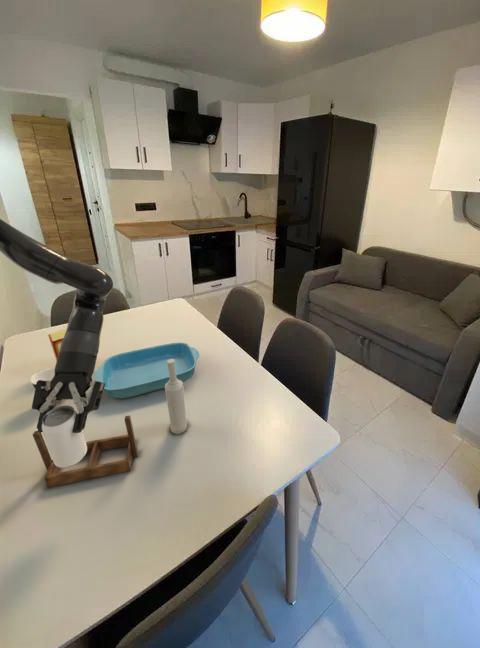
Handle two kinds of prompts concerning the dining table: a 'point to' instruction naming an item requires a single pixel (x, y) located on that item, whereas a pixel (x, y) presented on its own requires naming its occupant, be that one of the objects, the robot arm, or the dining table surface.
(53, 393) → the robot arm
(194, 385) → the dining table surface
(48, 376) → the dixie cup
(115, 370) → the casserole dish
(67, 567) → the dining table surface
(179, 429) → the bottle
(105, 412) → the dining table surface
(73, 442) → the can
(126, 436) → the frame
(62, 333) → the baking soda box
